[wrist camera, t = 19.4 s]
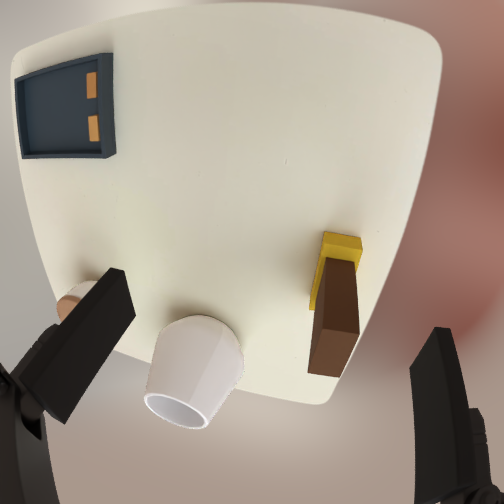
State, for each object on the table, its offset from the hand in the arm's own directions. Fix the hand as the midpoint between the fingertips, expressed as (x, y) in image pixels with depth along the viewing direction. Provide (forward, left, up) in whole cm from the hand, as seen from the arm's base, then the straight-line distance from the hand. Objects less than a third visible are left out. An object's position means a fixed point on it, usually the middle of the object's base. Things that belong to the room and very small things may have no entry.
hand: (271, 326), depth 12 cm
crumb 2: (+11, -21, -20) cm, 31 cm away
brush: (+6, +10, -20) cm, 24 cm away
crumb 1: (+7, -24, -20) cm, 32 cm away
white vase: (+28, +8, -21) cm, 35 cm away
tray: (+13, -28, -20) cm, 37 cm away
